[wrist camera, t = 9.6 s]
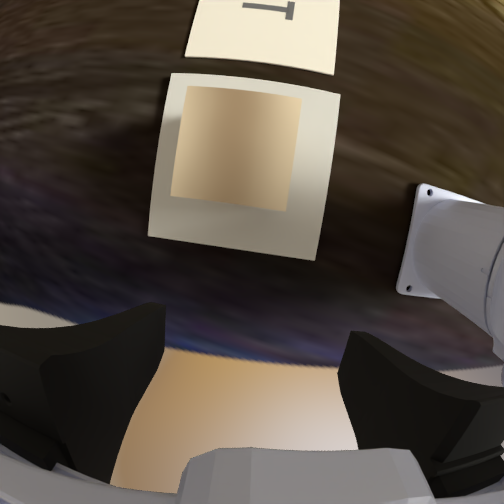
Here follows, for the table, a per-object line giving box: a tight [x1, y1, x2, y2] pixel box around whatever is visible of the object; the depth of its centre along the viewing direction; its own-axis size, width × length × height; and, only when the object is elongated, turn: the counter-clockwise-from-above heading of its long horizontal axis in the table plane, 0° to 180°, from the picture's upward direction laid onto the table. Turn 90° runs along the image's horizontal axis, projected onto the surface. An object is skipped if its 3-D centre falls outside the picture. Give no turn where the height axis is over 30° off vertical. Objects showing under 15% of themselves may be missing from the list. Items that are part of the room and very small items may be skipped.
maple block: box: [170, 86, 302, 212], centre depth 15 cm, size 5×5×6 cm
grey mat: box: [148, 73, 340, 261], centre depth 18 cm, size 11×11×1 cm
